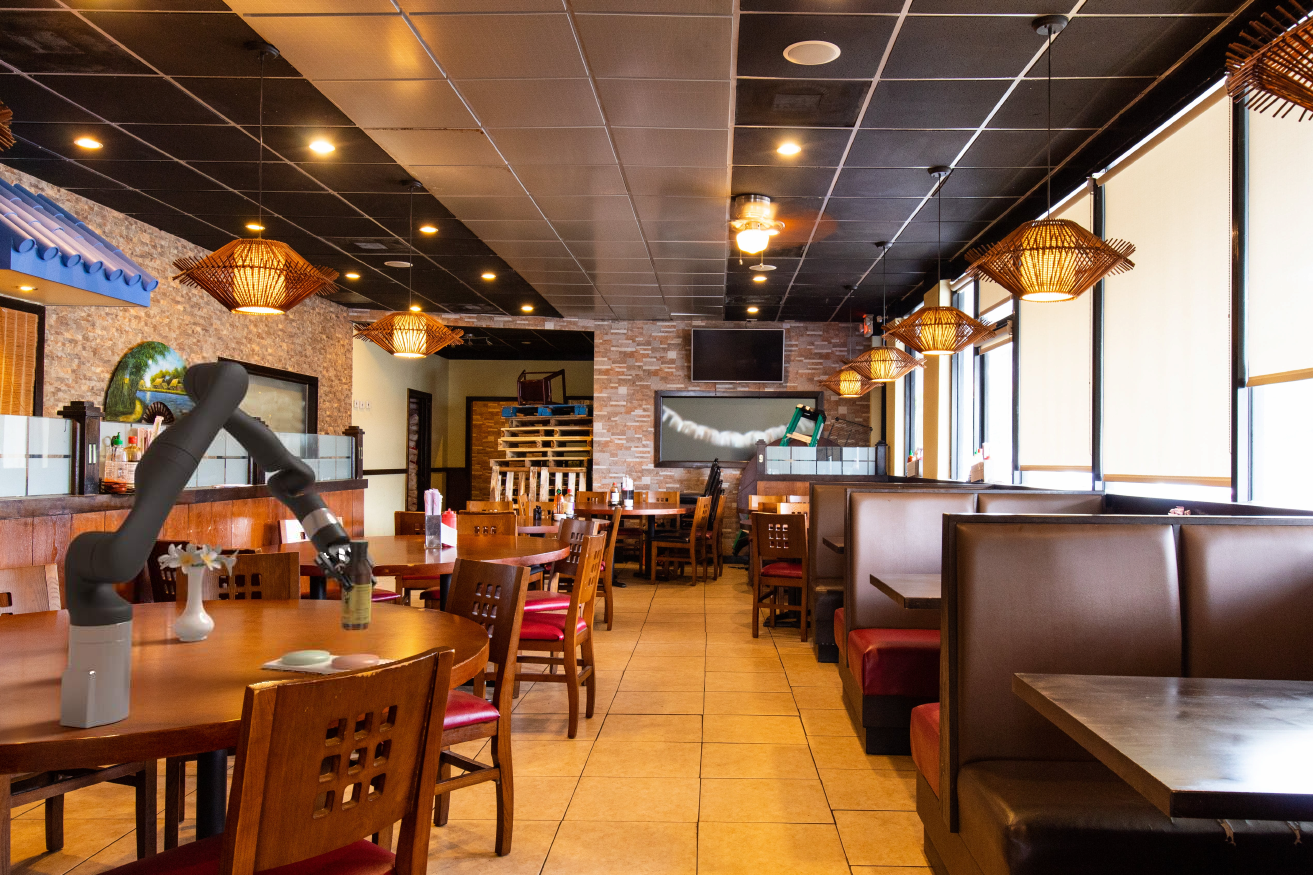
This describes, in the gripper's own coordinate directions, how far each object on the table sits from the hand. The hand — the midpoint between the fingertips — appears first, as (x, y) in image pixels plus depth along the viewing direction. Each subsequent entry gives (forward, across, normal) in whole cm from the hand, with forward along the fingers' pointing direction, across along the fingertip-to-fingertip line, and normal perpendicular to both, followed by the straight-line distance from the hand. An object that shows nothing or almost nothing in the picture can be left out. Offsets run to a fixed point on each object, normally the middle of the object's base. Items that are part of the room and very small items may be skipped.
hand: (362, 587), depth 181 cm
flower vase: (-30, +4, +57) cm, 65 cm away
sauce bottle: (+6, 0, +8) cm, 10 cm away
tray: (+7, -1, +18) cm, 20 cm away
